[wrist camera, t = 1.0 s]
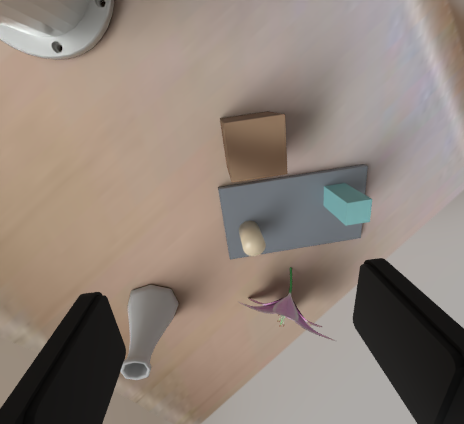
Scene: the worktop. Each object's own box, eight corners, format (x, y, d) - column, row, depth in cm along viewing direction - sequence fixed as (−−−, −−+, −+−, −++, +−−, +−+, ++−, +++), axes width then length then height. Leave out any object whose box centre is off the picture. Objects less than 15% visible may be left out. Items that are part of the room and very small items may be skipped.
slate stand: (218, 187, 30) (219, 201, 25) (363, 164, 30) (390, 175, 26) (229, 255, 34) (232, 278, 29) (357, 234, 34) (379, 254, 30)
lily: (227, 261, 36) (221, 334, 30) (307, 242, 30) (318, 328, 24) (266, 290, 43) (267, 352, 37) (335, 278, 38) (349, 350, 32)
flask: (177, 282, 35) (166, 345, 26) (180, 319, 38) (171, 388, 29) (124, 284, 34) (93, 350, 25) (131, 322, 37) (107, 394, 28)
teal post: (324, 186, 30) (347, 203, 25) (344, 182, 30) (372, 199, 25) (323, 205, 31) (345, 225, 26) (343, 202, 31) (369, 221, 26)
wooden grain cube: (220, 118, 27) (223, 123, 21) (267, 111, 27) (284, 114, 21) (226, 165, 29) (231, 182, 23) (270, 159, 29) (287, 174, 23)
